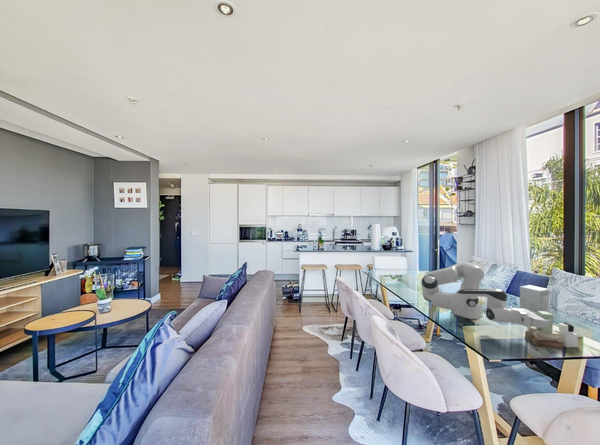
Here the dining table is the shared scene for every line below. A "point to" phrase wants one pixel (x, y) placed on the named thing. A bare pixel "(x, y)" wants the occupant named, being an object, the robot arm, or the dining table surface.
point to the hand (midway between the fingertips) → (546, 318)
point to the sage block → (546, 316)
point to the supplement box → (534, 298)
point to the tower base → (544, 342)
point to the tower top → (543, 334)
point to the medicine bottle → (567, 335)
